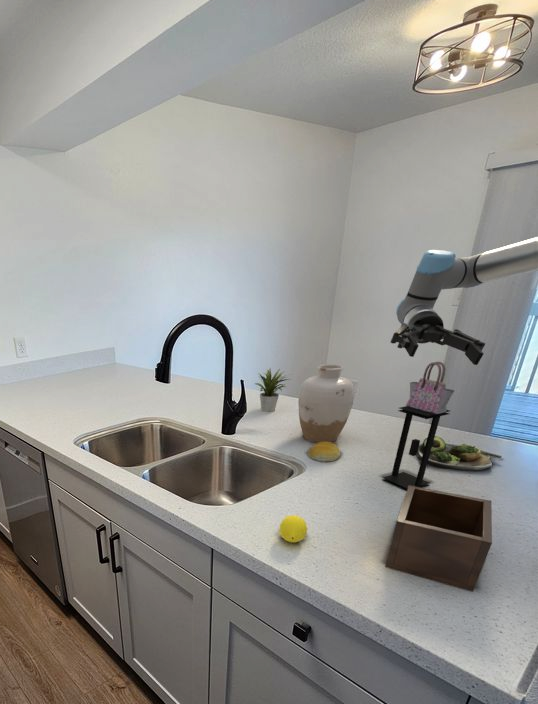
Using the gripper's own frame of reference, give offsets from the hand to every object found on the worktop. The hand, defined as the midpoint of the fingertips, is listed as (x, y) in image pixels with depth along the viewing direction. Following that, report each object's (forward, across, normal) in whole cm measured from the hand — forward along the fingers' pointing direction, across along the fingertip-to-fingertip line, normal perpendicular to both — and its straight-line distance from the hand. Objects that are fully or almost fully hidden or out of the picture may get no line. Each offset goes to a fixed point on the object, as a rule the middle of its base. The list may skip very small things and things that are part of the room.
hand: (446, 355), depth 99 cm
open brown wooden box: (+43, +3, -24) cm, 49 cm away
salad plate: (-7, -17, -31) cm, 36 cm away
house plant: (-48, +30, -46) cm, 73 cm away
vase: (-20, +15, -38) cm, 45 cm away
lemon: (+42, +28, -28) cm, 58 cm away
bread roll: (-4, +16, -35) cm, 39 cm away
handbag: (+10, -1, -30) cm, 31 cm away
